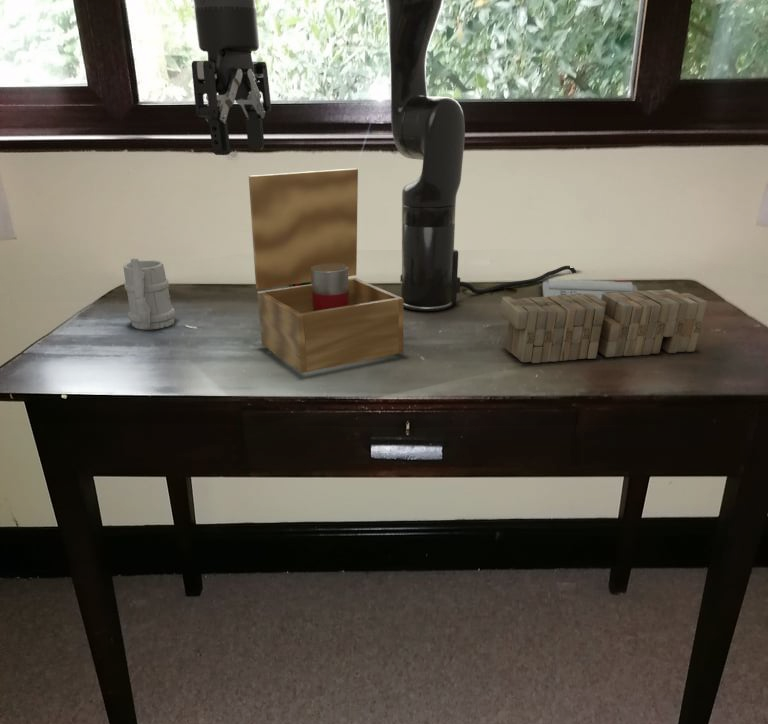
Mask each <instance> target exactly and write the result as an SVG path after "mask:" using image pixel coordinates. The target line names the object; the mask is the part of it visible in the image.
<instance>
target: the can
mask: <svg viewBox="0 0 768 724" xmlns="http://www.w3.org/2000/svg"><path fill="white" fill-rule="evenodd" d="M348 279H349V276H348V267H347V266H346V265H343V264H335V263H328V264H319V265H315V266H312V267H311V280H312V301H313V311H318V310H324V309H330V308H337V307H343V306H349V284H348Z"/></svg>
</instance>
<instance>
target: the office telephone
mask: <svg viewBox="0 0 768 724" xmlns="http://www.w3.org/2000/svg"><path fill="white" fill-rule="evenodd" d="M630 291H636V292H638V291H639V290H638V287H637V285H635V284H634V285H633V280H589V279H587V280H586V279H556V278H555V279H554V278H549V279H548V281H543V282H542V297H548V296H557V295H576V294H583V295H584V294H593V295H595V296H596V297H598V298H599V299H601V297H602V294H603V293H616V292H618V293H621V292H630Z"/></svg>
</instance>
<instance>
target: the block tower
mask: <svg viewBox="0 0 768 724" xmlns="http://www.w3.org/2000/svg"><path fill="white" fill-rule="evenodd" d="M707 306H708V301H707V300H705V299H703V298H702V297H697V296H695V295H694V294H691V293H690V292H683V293H679V292H677V291H674V290H672V289H671V288H669V289H663V290H662V289H655V290H653V289H652V290H651V289H649V290H638V292H636V291H630V292H621V293H618V292H616V293H603V294H602V297H601V299H599V298H598V297H596V296H595V295H593V294H584V295H583V294H576V295H557V296H548V297H543V296H539V297H536V296H535V297H524V298H523V297H521V298H512V297H511V296H501V302H500V311H499V313H500V315H501V316H502V317H504V319H506V320H507V331H506V332H507V333H506V340H505V341H506V343H505V350H506V351H507V352H508V353H510V354H512V355H513V356H514V357H515V358H516V359H517V360H519V362H521V363H531V364H540V363H549V362H566V361H576V360H585V359H589V360H591V359H596V358H597V356H598V353H600V354H601V355H602V356H603V357H605V358H614V357H623V356H624V357H632V356H649V355H651V354H652V355H653V354H655V355H656V354H659V353H660V352H661V350H662V351H664V352H665V353H667V354H676V353H683V352H684V353H685V352H686V353H689V352H690V353H691V352H695V351H696V348H697V344H698V340H699V336H700V332H701V329H702V325H703V321H704V318H705V313H706V309H707Z"/></svg>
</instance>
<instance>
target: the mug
mask: <svg viewBox="0 0 768 724" xmlns="http://www.w3.org/2000/svg"><path fill="white" fill-rule="evenodd" d="M122 266H123V267H122V268H123V274H124V280H125V282H124V284H123V285H124V290H125V291H126V294H127V300H128V307H129V310H128V312H127V315H128V319H129V321H130V322H131V325H132V327H133V328H135V329H138V330H146V331H150V330H151V331H152V330H159V329H164V328H168V327H170V326H172V325H174V323H175V316H176V310H175V308H174V307H173V306H172V301H171V296H170V292H169V290H170V289H169V287H170V282H169V280H168V278H167V276H166V271H165V267H164V266H165V265H164V263H163V262H162V261H160V260H154V259H153V260H152V259H151V260H139V259H138V258H130V262H127V263H125V264H124V265H122Z"/></svg>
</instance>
